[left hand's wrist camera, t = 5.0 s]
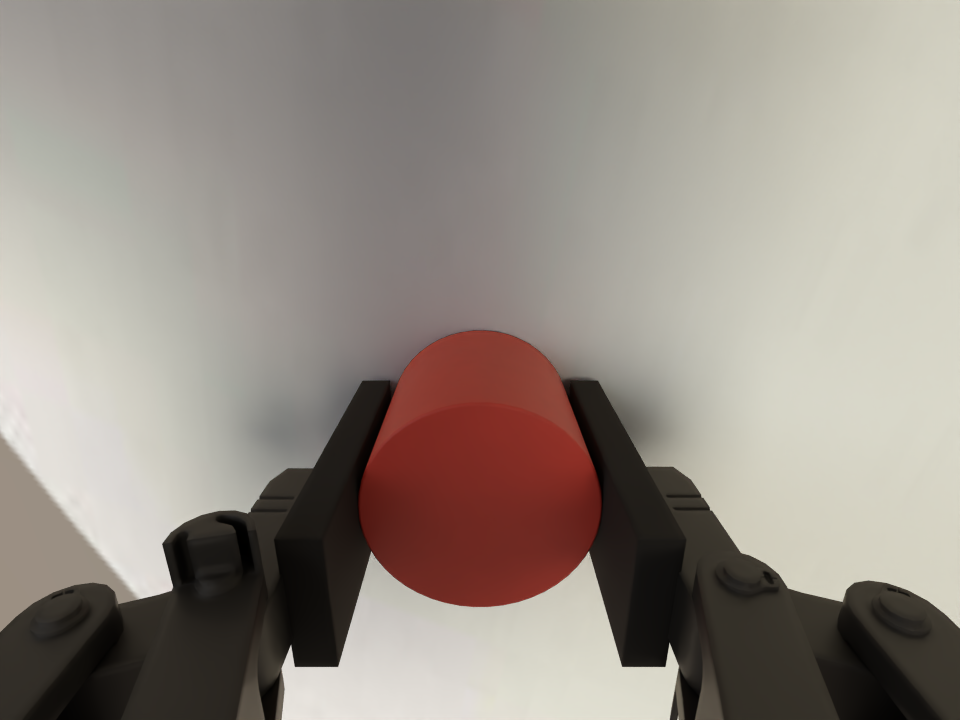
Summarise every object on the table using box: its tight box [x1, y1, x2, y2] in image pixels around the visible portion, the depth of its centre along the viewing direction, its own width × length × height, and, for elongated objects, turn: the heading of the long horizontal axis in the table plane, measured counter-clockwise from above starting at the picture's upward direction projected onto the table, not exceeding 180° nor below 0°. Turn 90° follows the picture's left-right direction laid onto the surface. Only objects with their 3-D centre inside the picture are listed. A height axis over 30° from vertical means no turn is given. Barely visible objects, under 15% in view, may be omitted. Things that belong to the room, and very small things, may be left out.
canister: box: [358, 331, 602, 607], centre depth 13 cm, size 5×5×5 cm
